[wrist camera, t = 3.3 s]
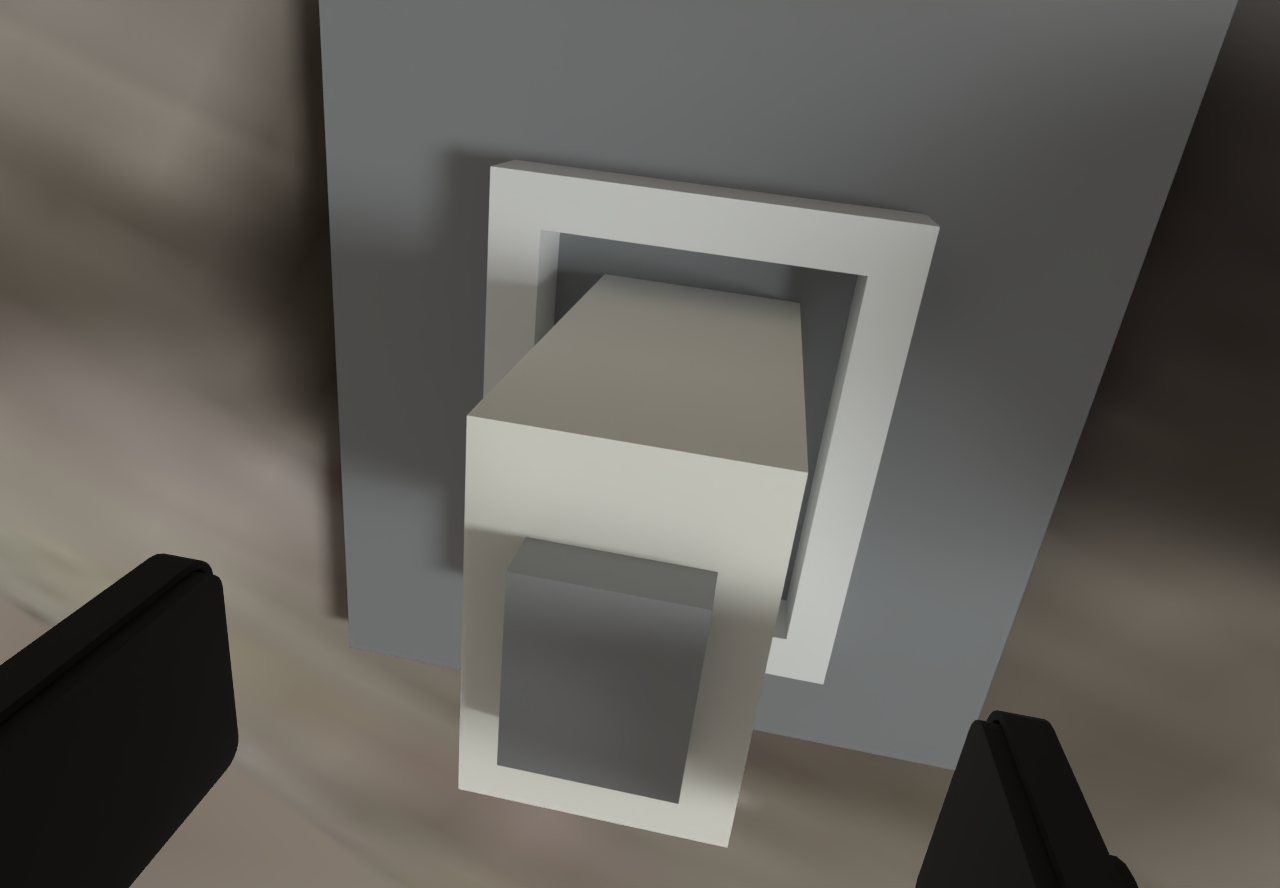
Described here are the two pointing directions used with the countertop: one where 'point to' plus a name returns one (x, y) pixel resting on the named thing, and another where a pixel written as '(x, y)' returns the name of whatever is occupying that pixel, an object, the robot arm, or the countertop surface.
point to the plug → (631, 554)
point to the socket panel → (761, 283)
